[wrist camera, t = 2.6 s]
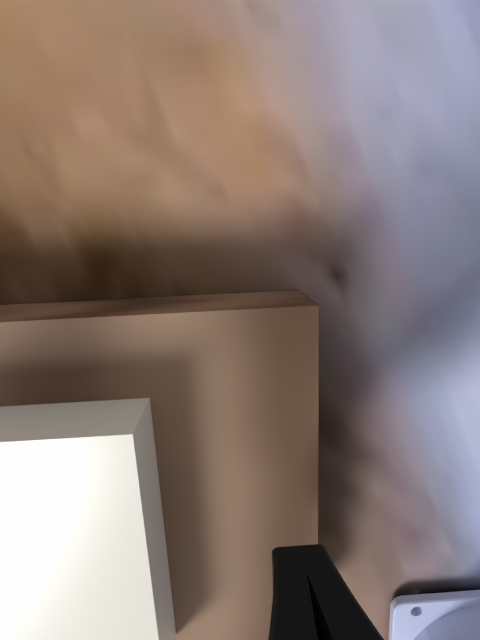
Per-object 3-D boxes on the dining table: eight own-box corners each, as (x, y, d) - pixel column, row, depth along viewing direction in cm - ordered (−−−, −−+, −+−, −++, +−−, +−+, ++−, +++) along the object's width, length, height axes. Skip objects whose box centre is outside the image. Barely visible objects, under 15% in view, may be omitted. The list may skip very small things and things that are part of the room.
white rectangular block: (149, 397, 11) (132, 434, 9) (176, 634, 13) (167, 706, 11) (-59, 410, 11) (-124, 450, 9) (2, 647, 13) (-39, 722, 11)
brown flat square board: (298, 289, 13) (318, 305, 10) (301, 597, 16) (317, 676, 13) (-98, 310, 13) (-193, 332, 10) (-15, 620, 16) (-69, 706, 13)
